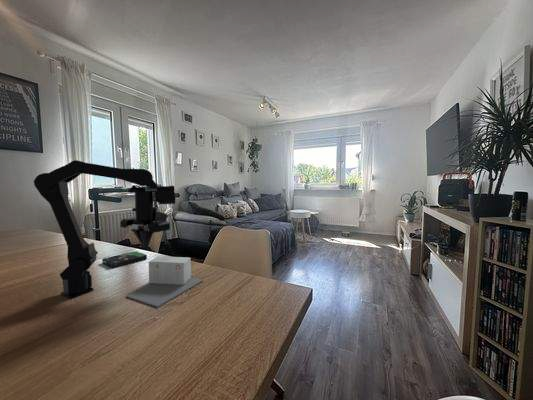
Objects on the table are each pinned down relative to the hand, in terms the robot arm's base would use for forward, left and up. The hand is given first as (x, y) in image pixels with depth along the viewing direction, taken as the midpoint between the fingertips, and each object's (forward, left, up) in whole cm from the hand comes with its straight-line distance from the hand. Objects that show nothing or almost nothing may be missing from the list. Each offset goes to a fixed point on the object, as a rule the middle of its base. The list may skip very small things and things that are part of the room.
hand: (145, 248), depth 83 cm
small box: (+2, -1, -8) cm, 9 cm away
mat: (0, -10, -13) cm, 17 cm away
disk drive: (+11, +28, -14) cm, 32 cm away
